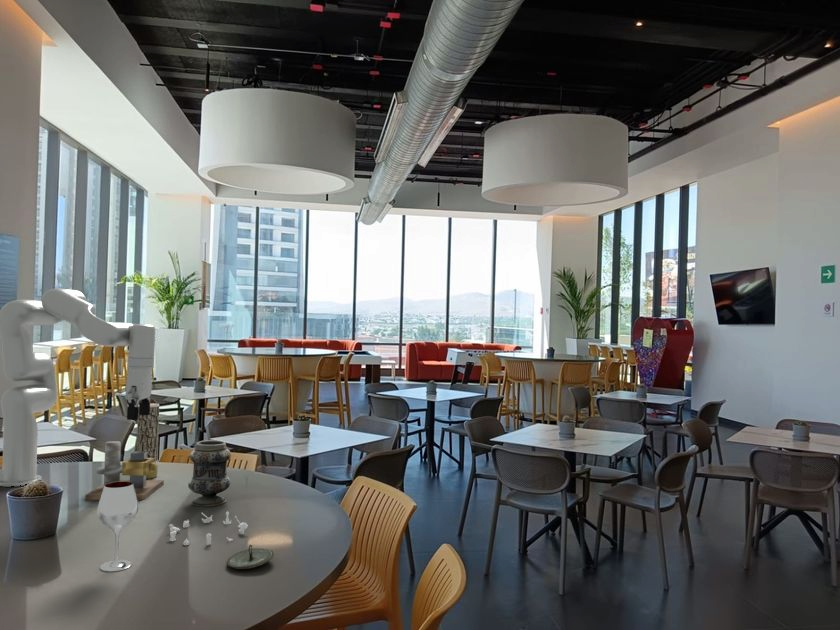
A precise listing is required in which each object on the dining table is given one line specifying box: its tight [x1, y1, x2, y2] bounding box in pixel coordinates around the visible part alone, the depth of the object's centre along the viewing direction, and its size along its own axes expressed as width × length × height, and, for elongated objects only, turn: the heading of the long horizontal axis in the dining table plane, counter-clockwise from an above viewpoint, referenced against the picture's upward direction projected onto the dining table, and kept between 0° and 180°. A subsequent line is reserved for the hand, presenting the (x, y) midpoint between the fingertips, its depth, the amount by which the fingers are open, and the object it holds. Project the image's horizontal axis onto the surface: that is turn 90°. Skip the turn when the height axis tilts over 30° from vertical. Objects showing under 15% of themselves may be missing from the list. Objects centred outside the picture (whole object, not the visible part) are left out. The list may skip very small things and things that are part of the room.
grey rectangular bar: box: [129, 450, 147, 489], centre depth 200 cm, size 4×3×11 cm
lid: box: [226, 544, 275, 570], centre depth 143 cm, size 11×10×5 cm
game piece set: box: [168, 510, 248, 546], centre depth 163 cm, size 19×20×4 cm
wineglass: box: [96, 481, 139, 573], centre depth 140 cm, size 8×8×18 cm
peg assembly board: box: [84, 440, 165, 501], centre depth 200 cm, size 18×18×16 cm
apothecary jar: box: [187, 439, 232, 508], centre depth 191 cm, size 12×12×18 cm
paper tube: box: [136, 402, 160, 480], centre depth 219 cm, size 7×7×25 cm
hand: (138, 417), depth 200 cm, fingers open, 9 cm apart
